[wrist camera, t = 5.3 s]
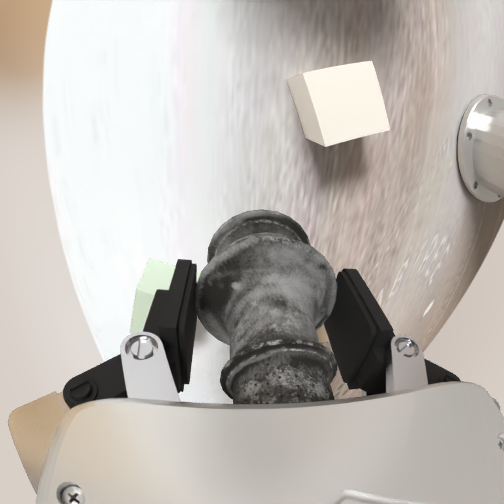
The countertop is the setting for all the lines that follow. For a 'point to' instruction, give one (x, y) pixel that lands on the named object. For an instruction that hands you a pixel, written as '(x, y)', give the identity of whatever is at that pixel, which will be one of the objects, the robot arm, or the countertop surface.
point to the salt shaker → (268, 309)
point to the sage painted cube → (150, 290)
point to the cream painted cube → (339, 103)
